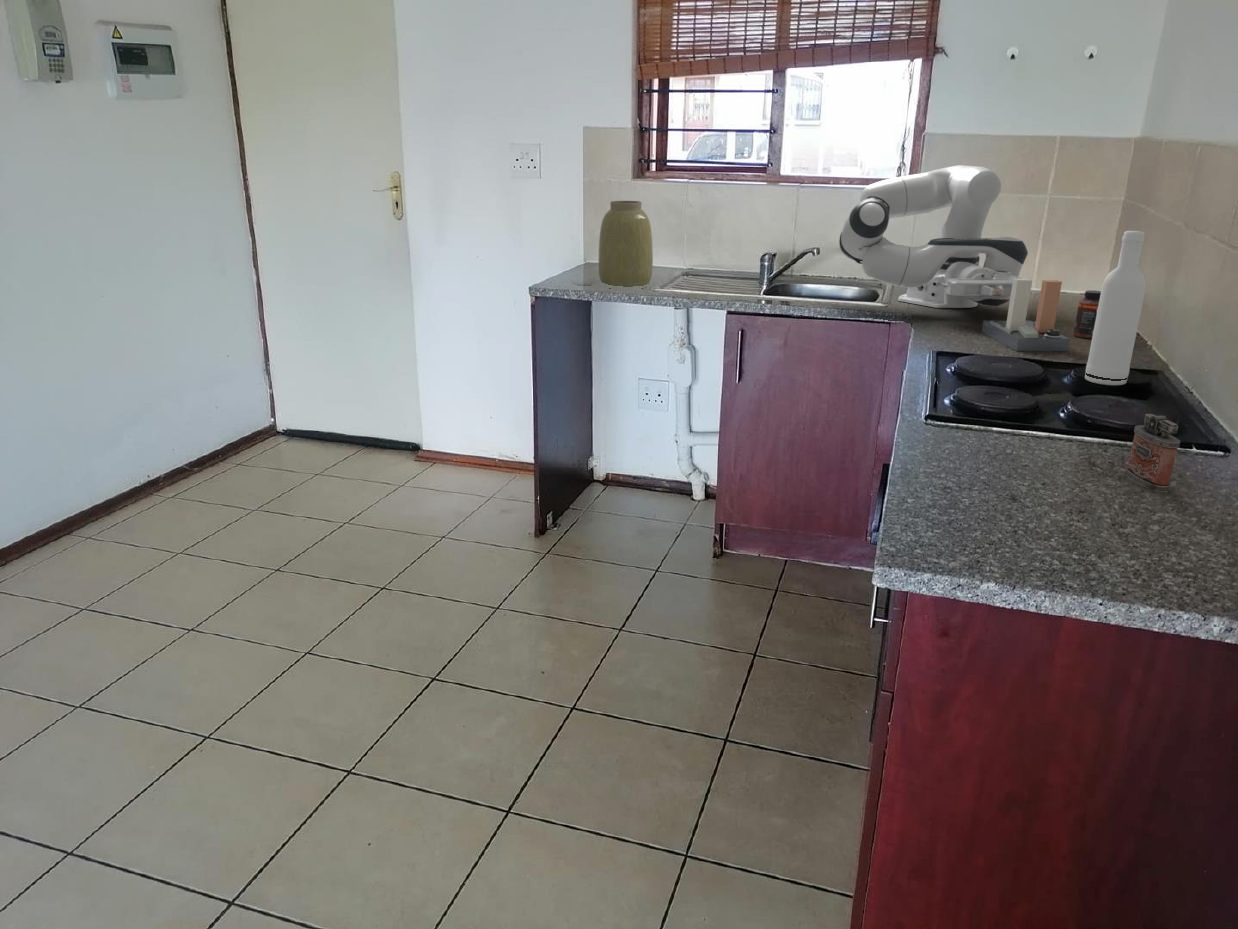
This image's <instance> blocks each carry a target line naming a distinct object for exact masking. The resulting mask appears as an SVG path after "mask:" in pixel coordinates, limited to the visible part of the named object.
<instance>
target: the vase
mask: <svg viewBox="0 0 1238 929" xmlns="http://www.w3.org/2000/svg"><path fill="white" fill-rule="evenodd" d="M598 239H599V241H598V276H599V279H600V282H602V283H605V284H608V285H613V286H623V287H633V286H644V285H647V284H648V285H649V284H650V282H651V280H652V276H653V262H654V261H653V260H654V259H653V256H654V255H653V254H654V253H653V252H654V250H653V236H652V228H651V223H650V219H649V217H648V215H647V214H646V212H645V211H644V210H643V209H642V201H637V200H614V201H613V200H612V201H610V209H609V210H608V211H607V212H606V213H605V214H604V216H603V217H602V220H601V225H600V231H599V238H598ZM602 283H601V284H602ZM645 288H646V289H647V288H648V286H647V287H645ZM609 289H611V288H609ZM641 289H644V288H641Z"/></svg>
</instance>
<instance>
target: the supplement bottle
mask: <svg viewBox="0 0 1238 929" xmlns="http://www.w3.org/2000/svg"><path fill="white" fill-rule="evenodd" d="M1100 295H1101V291H1100V290H1092V289H1091V290H1085V292H1084V298H1082V299H1080V300H1079V302H1078V307H1077V312H1076V317H1075V322H1074V323H1075V324H1074V328H1073V335H1074V336H1075V337H1077V338H1081V339H1092V337H1093V332H1094V326H1095V321H1096V316H1097V310H1098V305H1099V300H1100Z"/></svg>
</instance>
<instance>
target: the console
mask: <svg viewBox="0 0 1238 929" xmlns="http://www.w3.org/2000/svg"><path fill="white" fill-rule="evenodd" d="M1006 323H1007V320H986V319H985V320H983V322H982V328H981V333H982V334H985V335H987V336H989V337H990V338H992V339H994V340H996V341H997V342H999V343H1001V344H1003V345H1005V346H1006V347H1008V348H1010V349H1011V350H1014V351H1015V352H1068V349H1069V344H1070V338H1069V337H1067V336H1065V335H1063V334H1061V330H1060V329H1055V328H1054V329H1048V330H1046V332H1038V331H1037V332H1038V333H1039V335H1038V338H1025V337H1024V336H1023V335H1022V334H1021V333H1020V332H1019V331H1011V330H1009V329H1007V328H1006ZM1035 323H1036V320H1033V321H1032V320H1026V322H1025V327H1033V328H1034V329H1035Z"/></svg>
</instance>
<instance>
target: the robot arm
mask: <svg viewBox="0 0 1238 929" xmlns="http://www.w3.org/2000/svg"><path fill="white" fill-rule="evenodd" d="M1001 188H1002V183H1001V180H1000V177H999V176H998V175H997V174H996V173H995V172H994V171H993V170H991V169H989V168H987V167H984V166H975V165H963V164H959V165H958V164H957V165H953V166H947V167H943V168H937V169H934V170H931V171H930V170H929V171H926V172H921V173H914V174H908V175H903V176H896V177H891V178H887V179H882V180H880V181H877V182H874V183H871V184H868V185H867V186H866V187H864V189H863V190H862V192H861V194H860V199H859V200H860V201H859V203H857V204H856V206H854V207H853V209H852V210H851V212H850V214H849V215H848V217H847V218H846V220H845V222H844V224H843V228H842V231H841V232H840V235H839V240H838V241H839V249H840V250H841V252H842V254H843V255H845V256H846V257H847V258H848V259H851V260H852V261H854V262H856V263H857V264H859V265H862V266H861V267H862V270H863V273H864V275H866V276H867V277H869V278H871V279H874V280H876V281H879V282H882V283H884V284H888V285H892V286H896V287H901V288H902V287H903V288H907V291H906V293H904V294H901V295H899V296H898V301H899V302H903V303H910V304H915V305H919V306H926V307H931V308H935V309H967V308H969V309H970V308H975V307H977V306H978V304H980V305H984V306H991V307H999V306H1002V305H1004V304H1006V303H1007V302H1010V297H1011V290H1012V284H1013V279H1023V278H1022V277H1019V276H1020V273H1021V270H1022V267H1023V265H1024V263H1025V261H1026V258H1027V257H1028V254H1029V252H1028V249H1027V247H1026V244H1025V243H1024V240H1021V239H1019V238H1016V237H1012V236H1011V237H1010V236H1003V237H1002V236H1001V237H996V238H995V237H993V238H987V237H985V238H982V233H983V228H984V225H985V223H986V219H987V217H988V214H989V211H990V209H991V207H992V204H993V203H994V202H995V201H996V200H997V199H998V197H999V195H1000V192H1001ZM948 207H949V208H950V210H949V213H948V216H947V218H946V220H945V222H944V223H943V225H942V227H941V229H940V236H939V237H938V238H933V239H930V240H929V241H928V242H927V243H926V244H924V245H920V246H909V245H900V244H896V243H894V242H892V241H890V240H888V239H887V238H886V237H885V236H884V234H885V232H886V230H887V229H888V225H889V221H890V219H894V218H895V219H897V218H904V217H909V216H915V215H921V214H928V213H931V212H933V211H936V210H940V209H944V208H948ZM979 254H985V259H984V263H983V266H980V260H981V258H980V256H979Z"/></svg>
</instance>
